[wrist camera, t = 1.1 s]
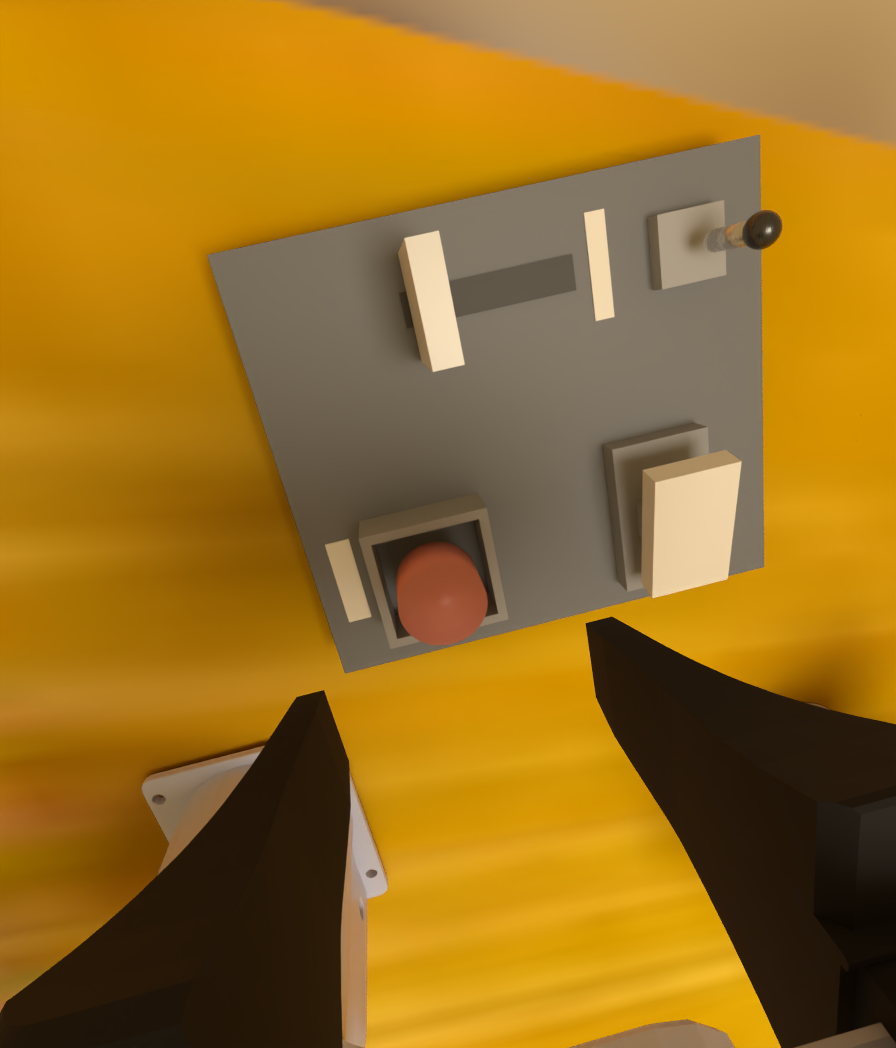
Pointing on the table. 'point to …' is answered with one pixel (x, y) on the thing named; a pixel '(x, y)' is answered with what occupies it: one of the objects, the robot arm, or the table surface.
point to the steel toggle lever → (746, 233)
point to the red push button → (440, 594)
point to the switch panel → (508, 387)
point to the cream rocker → (688, 522)
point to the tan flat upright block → (430, 301)
